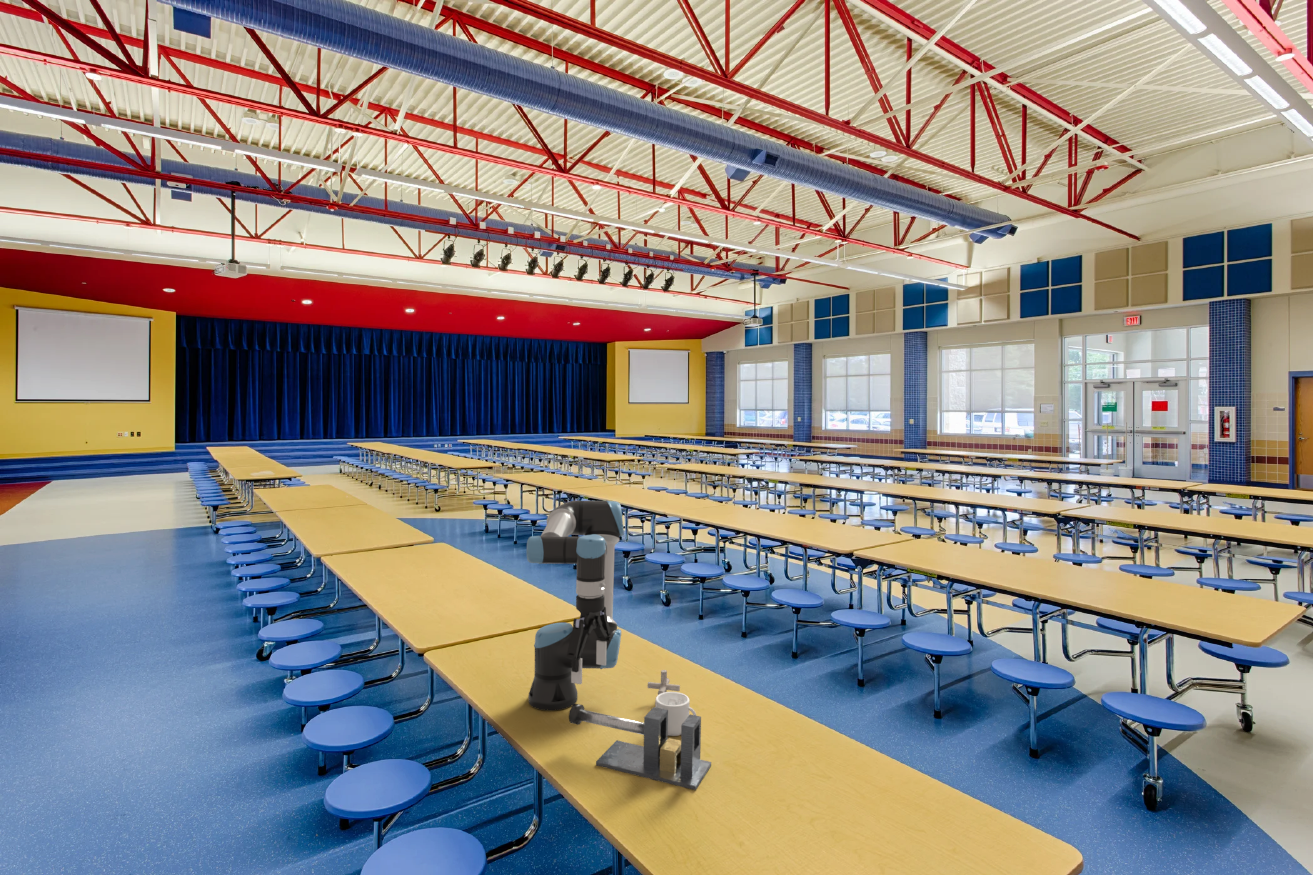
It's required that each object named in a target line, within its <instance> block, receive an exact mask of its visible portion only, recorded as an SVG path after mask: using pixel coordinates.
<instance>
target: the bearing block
mask: <svg viewBox="0 0 1313 875" xmlns="http://www.w3.org/2000/svg"><path fill="white" fill-rule="evenodd" d="M643 718H644V719H643V723H644V735H643V746H642V745H638V744H634V743H630V742H626V741H623V740H615V742H613V743H612V745H610V746H609V747H608V749H607V750H606V751H604V753H603V754H602V755H601V756H599V758H598V759H597V760H595V766H597V767H602V768H606V769H609V770H612V771H618V772H620V773H621V772H622V773H624V774H629V775H633V776H638V777H641V778H645V779H650V780H653V781H658V782H660V783H665V784H670V785H674V786H677V787H680V788H685V789H688V790H694V791H696V790H697V789H698V787H699V786H700V785H701V782H702V781H703V780H704V778H705V776H706V775H707V773H708V771H709V770H710V768H711V767H712V761H708V760H704V759H701V746H702V745H701V742H702V740H701V737H702V716H700V715H696V716H695V715H693V714H692V713H691V714H690V713H689V716H688V717H687V719H686V720H685V721H684V722H683V724H682V725H681V735H680V741H681V764H679V763H676V773H675V774H674V773H670V772H666V771H662V770H660V748H661V747H662V746H663V744H664V743H665V742H666V741H667V740H668V738H669V736H668V710H666V709H661V708H656V707H652V708H651V710H649V711H648V713H647V714H645V716H644V717H643Z"/></svg>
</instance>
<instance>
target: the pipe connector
mask: <svg viewBox="0 0 1313 875" xmlns="http://www.w3.org/2000/svg"><path fill="white" fill-rule="evenodd" d="M646 687H647V689H651V690H652V689H655V690H658V691H657V696H658V695H659V694H661V693H665V692H668V691H670V692H680V689H681V685H680V684H672V683H670V679H669V677H668V671H667V670H666V669H662V670H660V682H652V681H648V682H647V685H646Z"/></svg>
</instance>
